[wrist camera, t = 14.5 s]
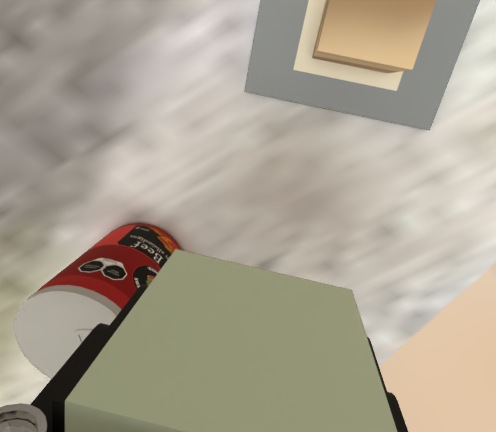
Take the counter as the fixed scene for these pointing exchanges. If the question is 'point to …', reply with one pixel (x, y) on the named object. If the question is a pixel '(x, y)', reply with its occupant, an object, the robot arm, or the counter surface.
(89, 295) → the canned food
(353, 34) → the oak block
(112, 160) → the counter surface
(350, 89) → the build board
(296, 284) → the sage block
